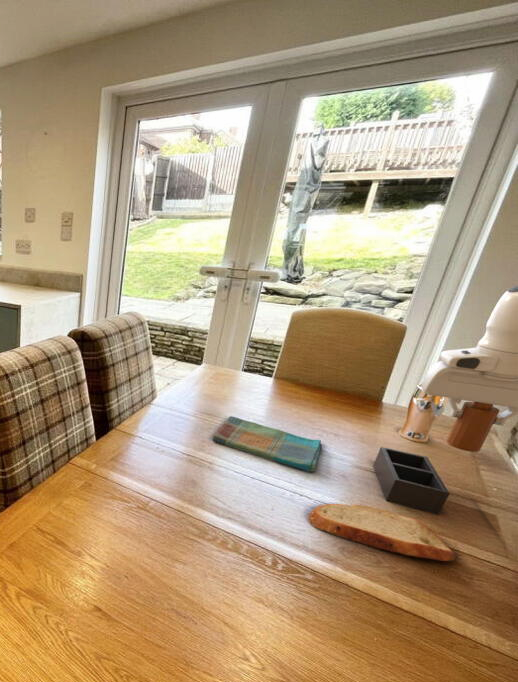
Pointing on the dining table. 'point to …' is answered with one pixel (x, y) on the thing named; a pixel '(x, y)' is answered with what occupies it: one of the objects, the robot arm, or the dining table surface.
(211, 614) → the dining table surface
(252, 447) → the dish towel
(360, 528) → the bread slice
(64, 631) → the dining table surface
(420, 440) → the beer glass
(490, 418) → the spice bottle
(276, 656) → the dining table surface
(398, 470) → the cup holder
